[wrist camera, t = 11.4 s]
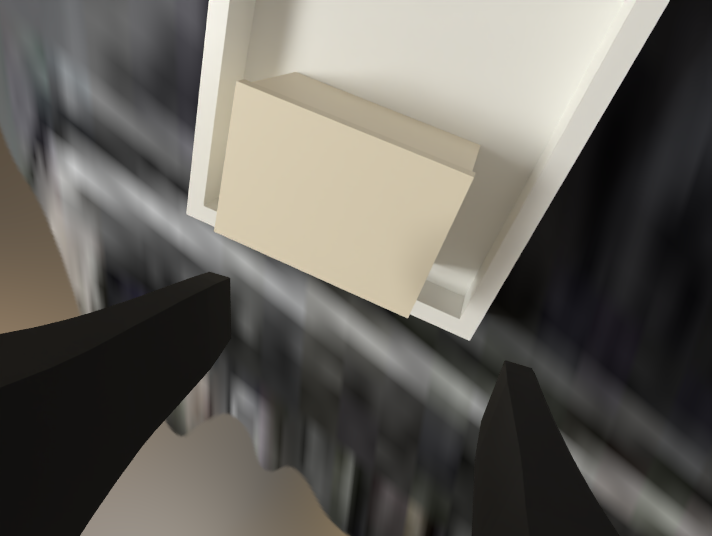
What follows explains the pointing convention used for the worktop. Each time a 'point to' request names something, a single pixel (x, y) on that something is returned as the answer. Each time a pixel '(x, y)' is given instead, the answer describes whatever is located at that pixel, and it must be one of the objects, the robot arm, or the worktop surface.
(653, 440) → the worktop surface
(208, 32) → the white tray
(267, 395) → the worktop surface
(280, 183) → the egg box
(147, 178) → the worktop surface
